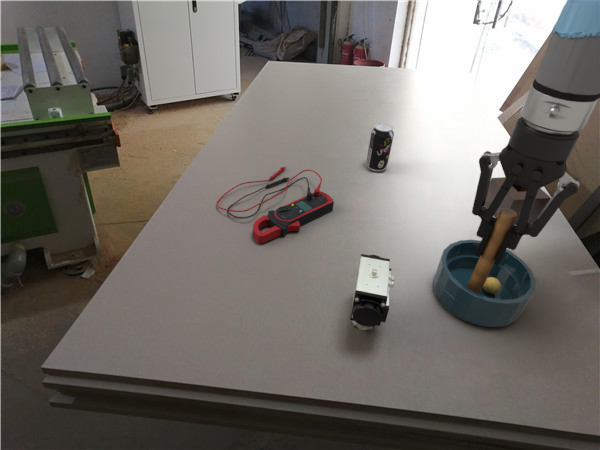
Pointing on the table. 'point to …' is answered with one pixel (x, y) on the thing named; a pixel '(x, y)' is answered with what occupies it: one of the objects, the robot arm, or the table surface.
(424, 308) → the table surface
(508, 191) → the robot arm
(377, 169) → the beverage can
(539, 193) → the holder
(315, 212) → the digital clamp meter
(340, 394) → the table surface
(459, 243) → the bowl
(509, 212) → the stirring stick
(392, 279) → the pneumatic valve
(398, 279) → the table surface
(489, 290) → the bead
